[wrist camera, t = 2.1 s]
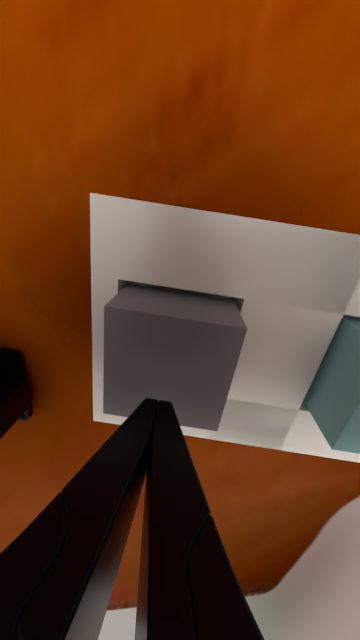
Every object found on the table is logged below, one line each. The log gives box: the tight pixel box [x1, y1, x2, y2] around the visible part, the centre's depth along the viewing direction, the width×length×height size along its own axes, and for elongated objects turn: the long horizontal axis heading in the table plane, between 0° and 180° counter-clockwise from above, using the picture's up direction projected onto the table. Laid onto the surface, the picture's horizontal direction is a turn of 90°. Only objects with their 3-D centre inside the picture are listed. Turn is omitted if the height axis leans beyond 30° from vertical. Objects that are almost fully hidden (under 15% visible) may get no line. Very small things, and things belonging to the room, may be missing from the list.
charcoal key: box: [103, 284, 247, 431], centre depth 10 cm, size 5×5×3 cm
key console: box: [90, 193, 360, 463], centre depth 13 cm, size 18×12×4 cm, turn 82°
